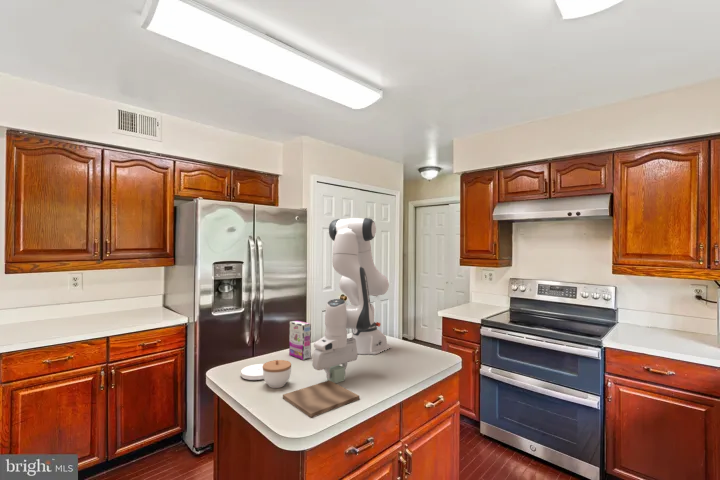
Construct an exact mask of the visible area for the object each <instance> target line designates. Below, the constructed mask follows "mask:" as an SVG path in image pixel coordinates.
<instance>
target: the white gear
mask: <svg viewBox="0 0 720 480" xmlns="http://www.w3.org/2000/svg"><path fill="white" fill-rule="evenodd" d="M264 364H265V363H256V364H255V363H254V364H250V365H247V366H245V367H243V368H242V369H241V370H240V377H241V378H243V379H245V380H249V381H257V380H260V381H261V380H264V377H263V365H264Z"/></svg>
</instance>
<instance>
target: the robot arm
mask: <svg viewBox="0 0 720 480" xmlns="http://www.w3.org/2000/svg"><path fill="white" fill-rule="evenodd" d="M376 232H377V226H376V223H375V221H374V220H373V219H372V218H369V217H362V218H361V217H351V218H341V219H340V218H337V219H334V220H331V222H330V224H329V226H328V234H329V237H330V239H331V240H332V241H333V246H332V257H331V258H332V261H331V262H332V267H333V269H334V271H336V273H338V274H339V275H341V277H340V279H339V283H338V285H339V286H338V287H339V289H340V291H341V292H342V293H343V294H344V295H345V296H346V297H347V298H348V300H349V302H350V304H349V305H348V304H347V303H346V301H345V300H344V299H341V298H336V299H330V300H328V301H327V302H326V307H325V313H324V314H325V315H324V324H325V332H324V335H323V336H322V337H321V338H319V339H318V340H316V341H314V343H313V347H314V350H313V352H312V361H311V362H312V364H311V365H312V367H313V369H315V370H316V371H322V370H323V371H324V372H325V374H326V379H327V378H328V379H330V378H332V373H330V372H329V370H330V367H333V366H337V365H340V366H342V367H344V368H345V370H346V369H347V367H348V363H351V362H353V361H354V362H355V361H356V360H357V359H358V356H359V355H378V354H380V352H381V353H383V352H385V351H387V349H388V350H390V349H392V345H391V344H389V343H388V341H387V336H386V334H384V333H383V332H381V331H380V330H379V329H378V327H379V328H380V326H381V322H377V321H375V307H374V305H373V304H371V300H370V299H371V298H370V296H376V297H377V296H383V295H385V294H387V291H388V290H389V287H390V286H389V280H388V278H387V277H386V276H385V275H384V274H383V273H382V272H380V271H379V270H378V269H377V267H376V265H375V264H374V260H373V255H372V254H373V252H372V244H371V241H372V240H373V239H374V238H375V237H376ZM348 329H350V330H351V332H352V333H351V337H350V338H349V337H348V331H347V330H348ZM389 348H390V349H389ZM384 350H385V351H384ZM382 351H383V352H382ZM358 354H359V355H358Z"/></svg>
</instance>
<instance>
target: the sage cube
mask: <svg viewBox="0 0 720 480" xmlns="http://www.w3.org/2000/svg"><path fill="white" fill-rule="evenodd" d="M329 372H330V373H332V378H330V379H328V378H327V377H326V381H328V380H330V381H332V382H334V383H336V384H338V383H341V382H343V381H345V379H346V377H345V376H346V369H345V368H344V367H342V365H341V364H340V365H337V366H333V367H330V370H329Z"/></svg>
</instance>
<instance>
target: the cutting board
mask: <svg viewBox="0 0 720 480" xmlns="http://www.w3.org/2000/svg"><path fill="white" fill-rule="evenodd" d="M282 399H283V400H285V401H286V402H288V403H289V404H290V405H292V406H293V407H294V408H296V409H297V410H299V411H300V412H302V413H303V414H305V415H306V416H308V417H309V418H314V417H316V416H319V415H321V414H325V413H326V412H330V411H333V410H334V409H338V408H340V407H343V406H345V405H347V404H350V403H353V402H355V401H358V400H360V395H359V394H357V393H355V392H353V391H352V390H350V389H347V388H346V387H343V386H341V385H340V384H338V383H334V382H332V381H330V380H325V381H323V382H319V383H315V384H313V385H310V386H306V387H303V388H300V389H296V390H294V391H290V392H288V393H284V394H282Z"/></svg>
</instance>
